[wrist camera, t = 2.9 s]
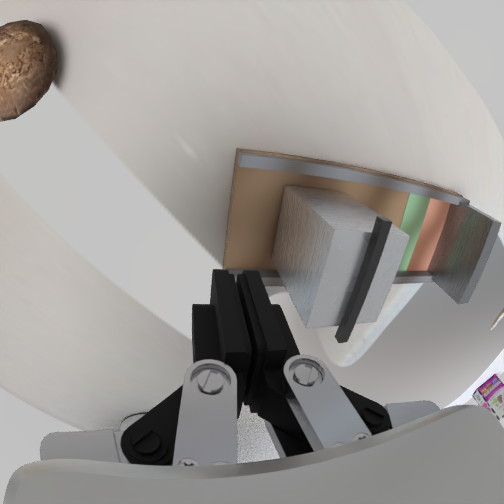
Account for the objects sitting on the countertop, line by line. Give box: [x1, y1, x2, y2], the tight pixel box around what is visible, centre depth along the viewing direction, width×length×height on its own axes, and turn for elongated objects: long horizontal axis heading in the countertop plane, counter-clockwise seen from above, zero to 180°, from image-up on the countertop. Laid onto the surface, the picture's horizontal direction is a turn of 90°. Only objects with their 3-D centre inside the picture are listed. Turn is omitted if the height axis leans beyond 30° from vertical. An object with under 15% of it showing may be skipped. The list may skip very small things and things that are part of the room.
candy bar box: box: [473, 374, 504, 421], centre depth 59 cm, size 11×5×16 cm, turn 102°
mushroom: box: [0, 20, 56, 121], centre depth 11 cm, size 8×8×6 cm
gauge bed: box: [223, 149, 470, 286], centre depth 24 cm, size 24×10×2 cm, turn 82°
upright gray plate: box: [427, 202, 501, 304], centre depth 23 cm, size 2×9×6 cm, turn 172°
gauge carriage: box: [272, 185, 410, 343], centre depth 18 cm, size 5×8×9 cm, turn 172°
